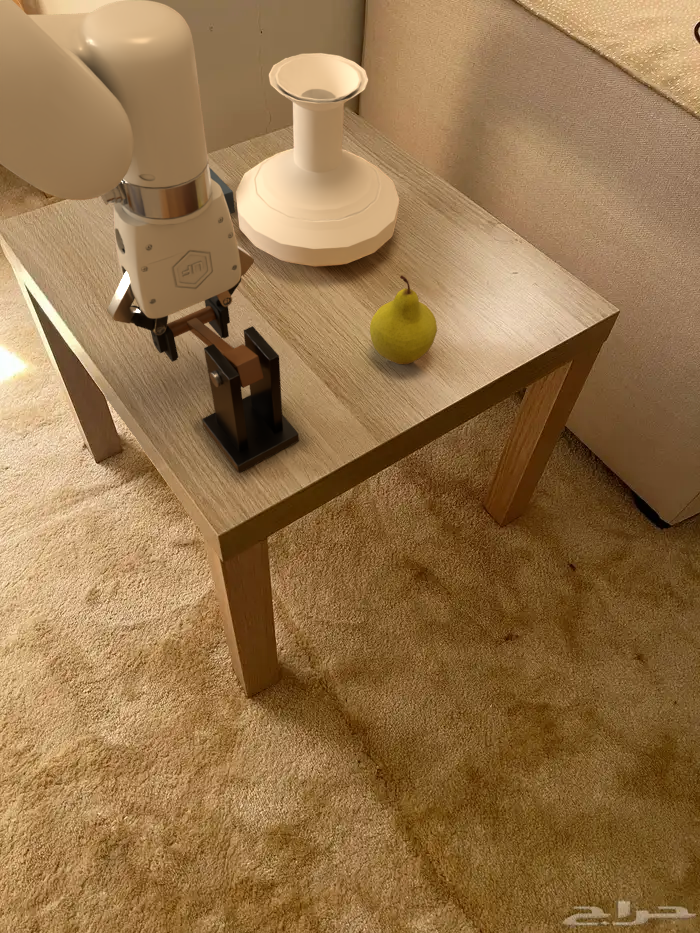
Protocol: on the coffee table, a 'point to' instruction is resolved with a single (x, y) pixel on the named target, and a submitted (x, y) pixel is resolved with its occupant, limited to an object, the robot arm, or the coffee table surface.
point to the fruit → (403, 328)
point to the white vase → (317, 174)
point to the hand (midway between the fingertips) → (193, 339)
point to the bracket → (247, 407)
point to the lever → (220, 344)
